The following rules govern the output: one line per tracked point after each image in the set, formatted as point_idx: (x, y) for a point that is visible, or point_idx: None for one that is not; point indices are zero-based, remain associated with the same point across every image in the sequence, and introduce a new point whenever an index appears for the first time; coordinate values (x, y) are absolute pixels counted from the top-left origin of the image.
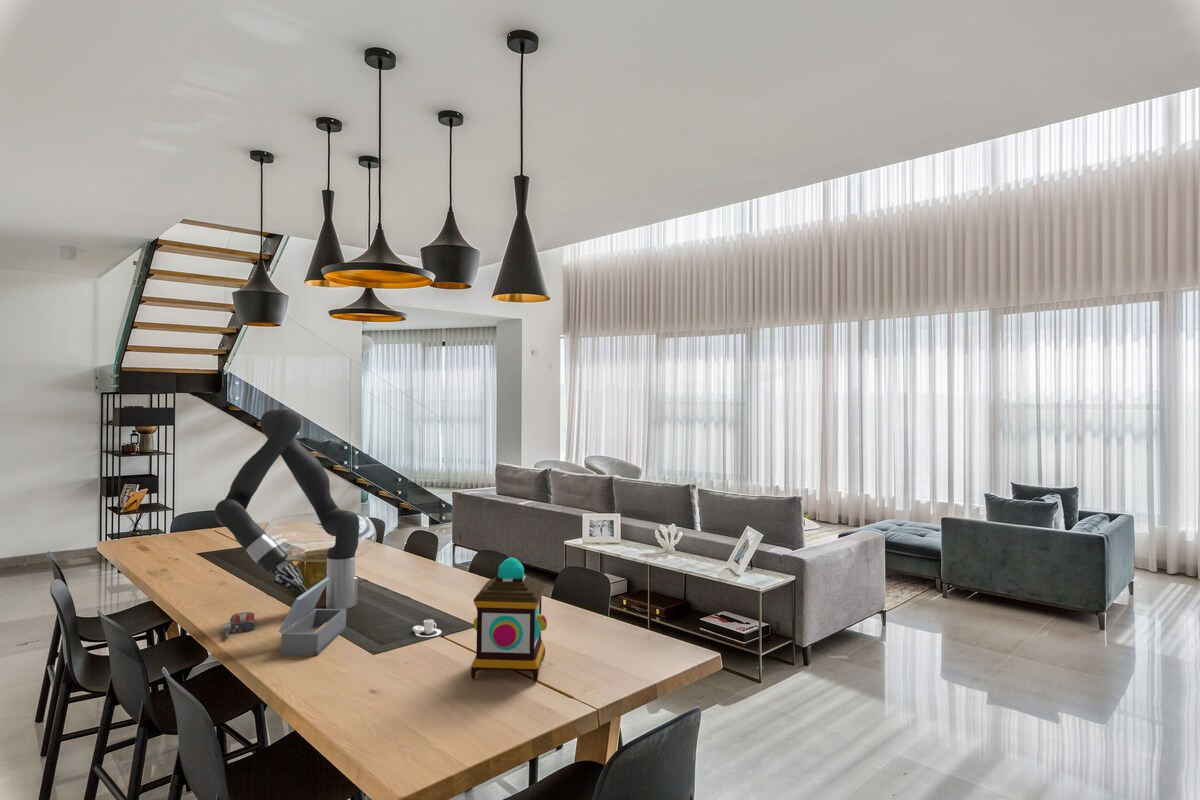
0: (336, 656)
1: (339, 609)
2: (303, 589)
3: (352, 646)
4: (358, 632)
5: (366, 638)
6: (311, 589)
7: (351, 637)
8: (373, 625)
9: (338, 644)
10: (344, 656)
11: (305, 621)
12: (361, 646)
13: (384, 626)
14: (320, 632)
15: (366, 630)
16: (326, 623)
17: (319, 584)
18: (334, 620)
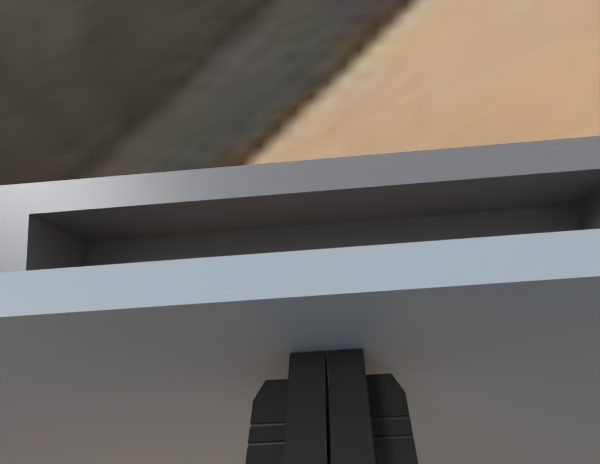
0: (576, 76)
1: (11, 233)
2: (369, 433)
3: (400, 57)
4: (153, 119)
5: (258, 35)
6: (413, 268)
7: (246, 123)
8: (22, 83)
9: (376, 147)
10: (567, 35)
11: None
12: (394, 10)
13: (42, 17)
14: (597, 138)
15: (115, 88)
16: (387, 180)
17: (84, 282)
18: (282, 164)
